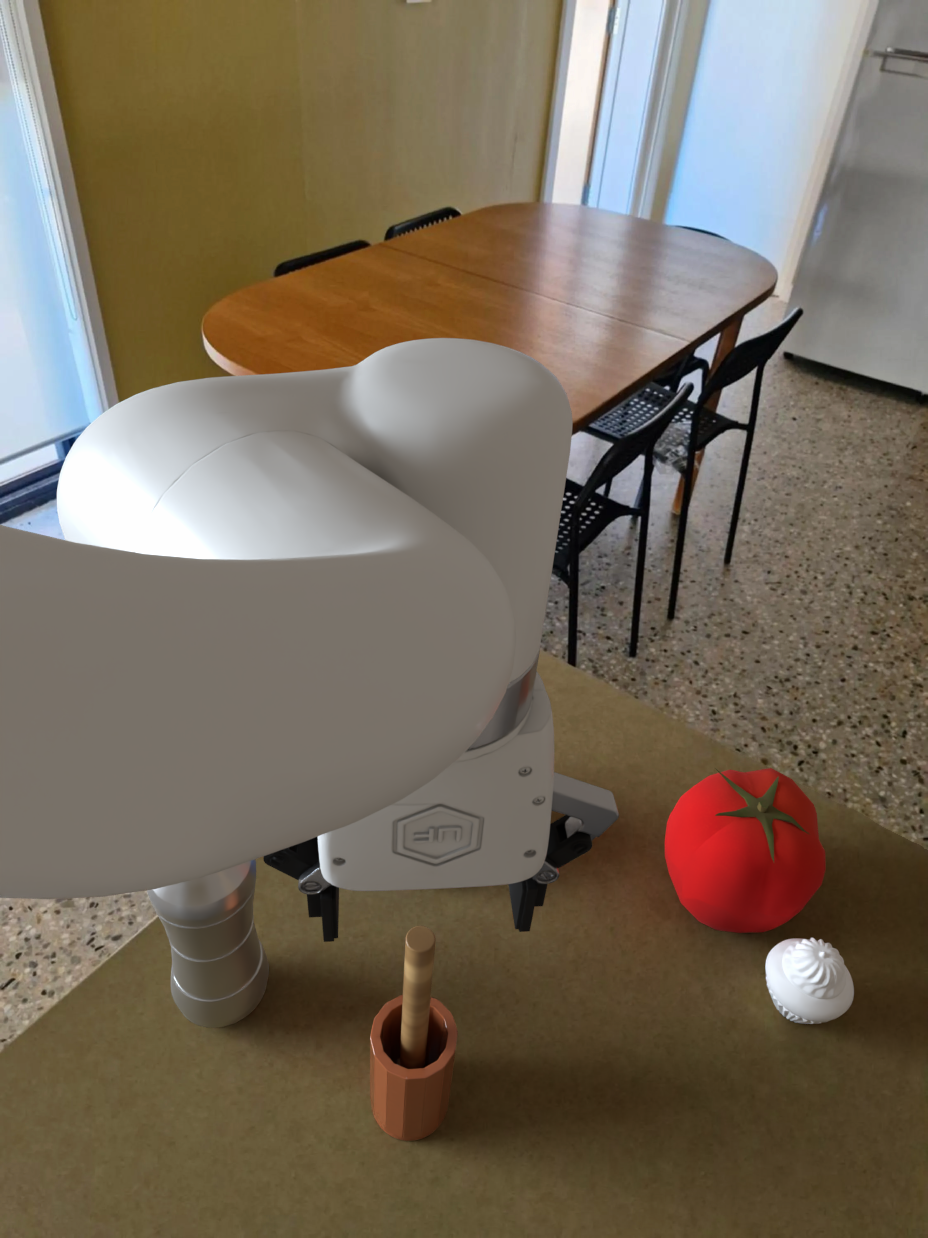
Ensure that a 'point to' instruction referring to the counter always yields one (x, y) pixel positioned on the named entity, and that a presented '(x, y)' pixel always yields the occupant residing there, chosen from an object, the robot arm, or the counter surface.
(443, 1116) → the crock
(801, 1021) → the muffin
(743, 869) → the tomato
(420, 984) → the stirring stick
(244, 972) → the silver metal bottle
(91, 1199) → the counter surface
